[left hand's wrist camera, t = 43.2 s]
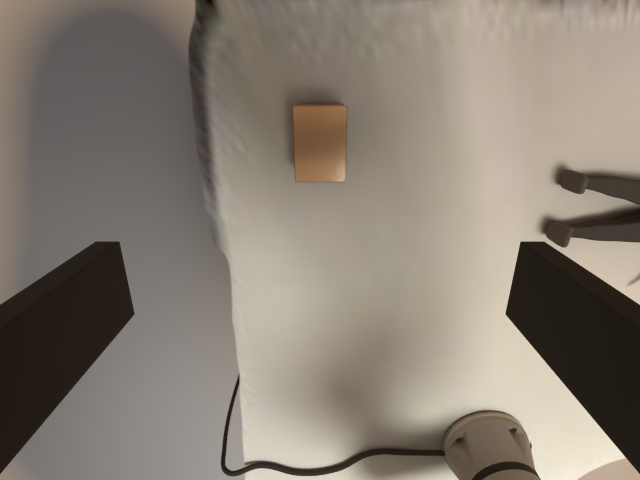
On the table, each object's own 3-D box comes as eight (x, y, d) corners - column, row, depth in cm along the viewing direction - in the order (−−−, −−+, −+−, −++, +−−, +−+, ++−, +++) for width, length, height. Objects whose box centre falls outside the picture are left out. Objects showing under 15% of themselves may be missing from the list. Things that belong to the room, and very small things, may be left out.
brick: (342, 170, 52) (345, 182, 45) (298, 170, 52) (295, 182, 45) (343, 104, 49) (347, 106, 42) (296, 104, 49) (292, 106, 42)
